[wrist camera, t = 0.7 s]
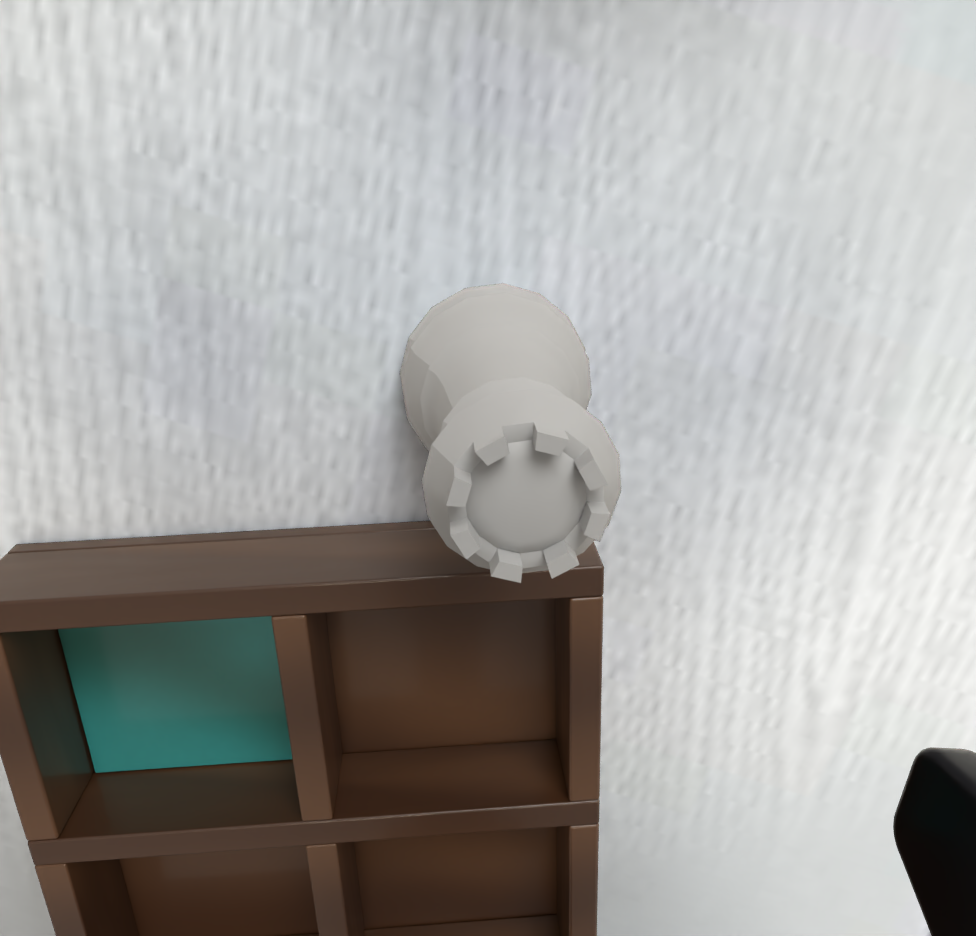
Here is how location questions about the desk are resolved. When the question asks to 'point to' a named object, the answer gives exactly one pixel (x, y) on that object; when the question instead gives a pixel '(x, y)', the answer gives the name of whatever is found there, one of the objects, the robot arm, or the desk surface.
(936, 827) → the robot arm
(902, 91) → the desk surface
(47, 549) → the grid
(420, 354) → the rook chess piece
